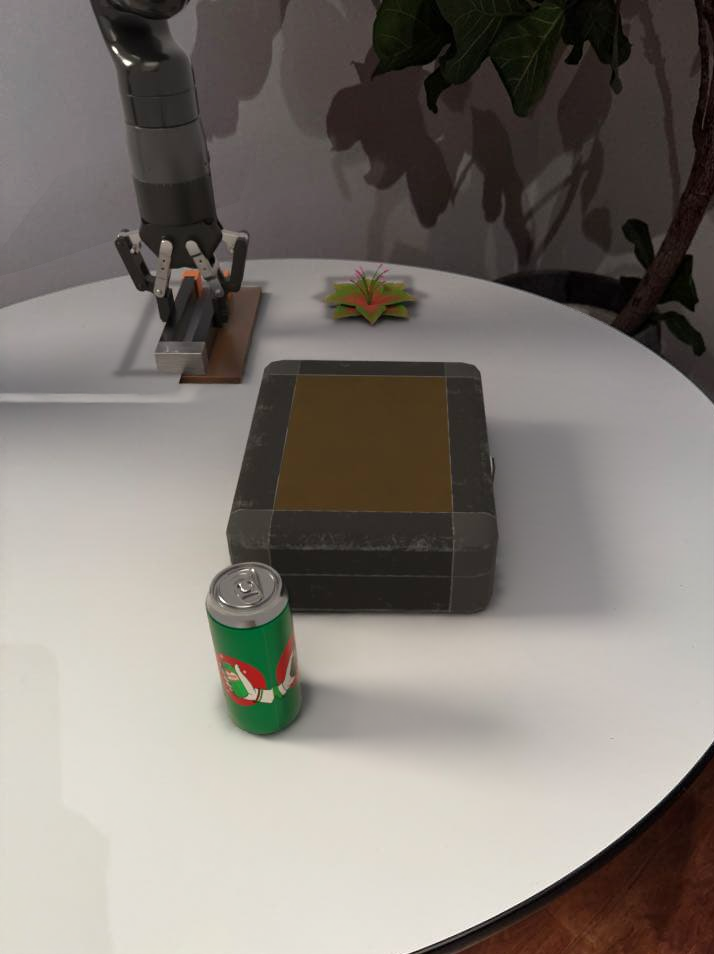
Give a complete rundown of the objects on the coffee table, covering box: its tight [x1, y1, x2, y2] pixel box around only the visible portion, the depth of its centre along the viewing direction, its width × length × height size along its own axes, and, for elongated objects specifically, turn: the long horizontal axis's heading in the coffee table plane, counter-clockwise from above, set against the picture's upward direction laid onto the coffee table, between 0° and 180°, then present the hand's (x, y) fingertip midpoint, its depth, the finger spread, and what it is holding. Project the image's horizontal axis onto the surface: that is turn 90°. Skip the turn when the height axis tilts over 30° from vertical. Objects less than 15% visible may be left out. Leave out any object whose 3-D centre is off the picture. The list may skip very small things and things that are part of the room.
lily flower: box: [320, 263, 419, 326], centre depth 101 cm, size 12×12×5 cm
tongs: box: [153, 269, 231, 376], centre depth 96 cm, size 19×5×3 cm, turn 1°
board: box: [178, 286, 263, 384], centre depth 97 cm, size 12×20×1 cm, turn 1°
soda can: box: [204, 562, 303, 735], centre depth 56 cm, size 5×5×12 cm
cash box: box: [225, 359, 499, 614], centre depth 73 cm, size 25×20×8 cm
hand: (196, 323), depth 96 cm, fingers closed on tongs, 4 cm apart
